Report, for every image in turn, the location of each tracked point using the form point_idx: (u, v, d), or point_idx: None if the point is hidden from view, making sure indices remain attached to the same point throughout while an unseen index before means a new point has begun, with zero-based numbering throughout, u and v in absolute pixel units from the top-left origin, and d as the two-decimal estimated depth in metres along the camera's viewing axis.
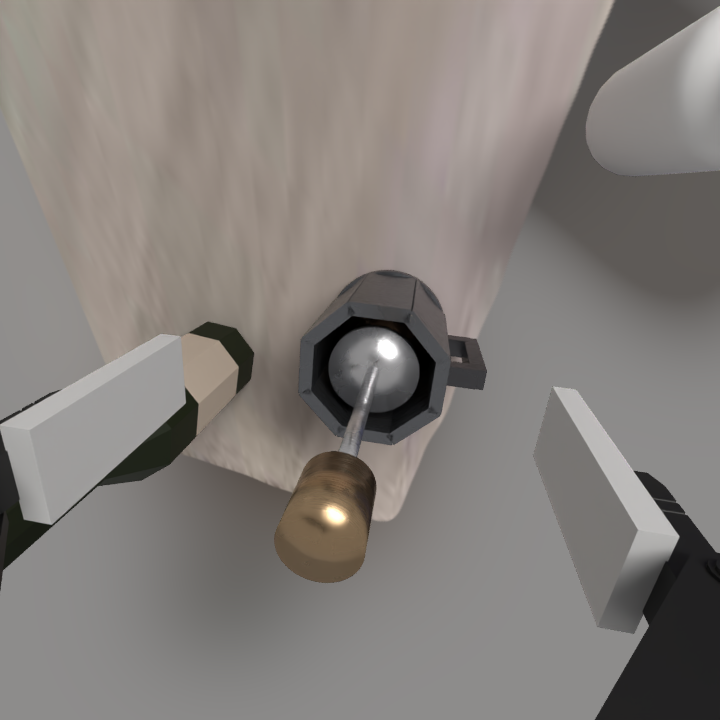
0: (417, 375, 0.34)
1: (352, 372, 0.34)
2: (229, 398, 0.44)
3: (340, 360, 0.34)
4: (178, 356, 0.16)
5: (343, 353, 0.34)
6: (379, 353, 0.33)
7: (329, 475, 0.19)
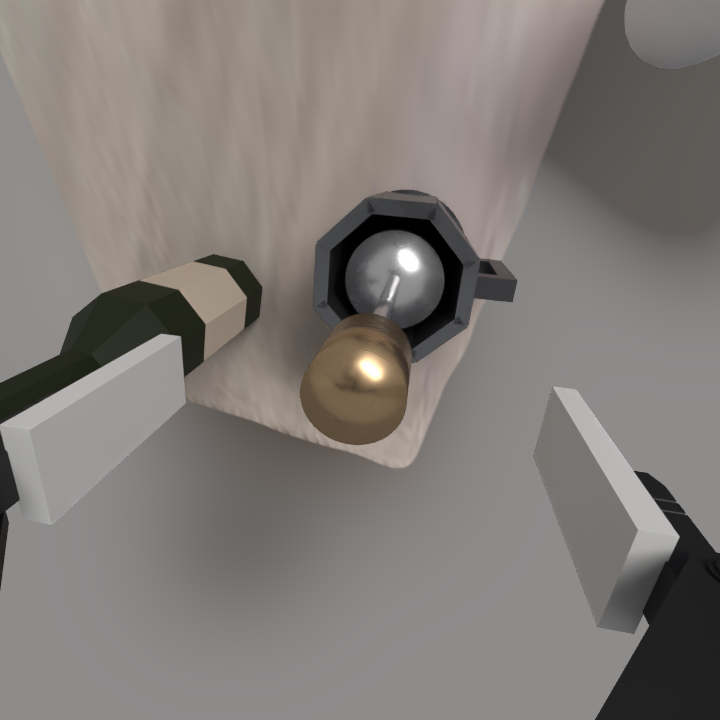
0: (442, 284, 0.31)
1: (371, 283, 0.32)
2: (237, 330, 0.41)
3: (359, 269, 0.31)
4: (178, 356, 0.16)
5: (361, 261, 0.31)
6: (401, 260, 0.31)
7: (361, 327, 0.16)
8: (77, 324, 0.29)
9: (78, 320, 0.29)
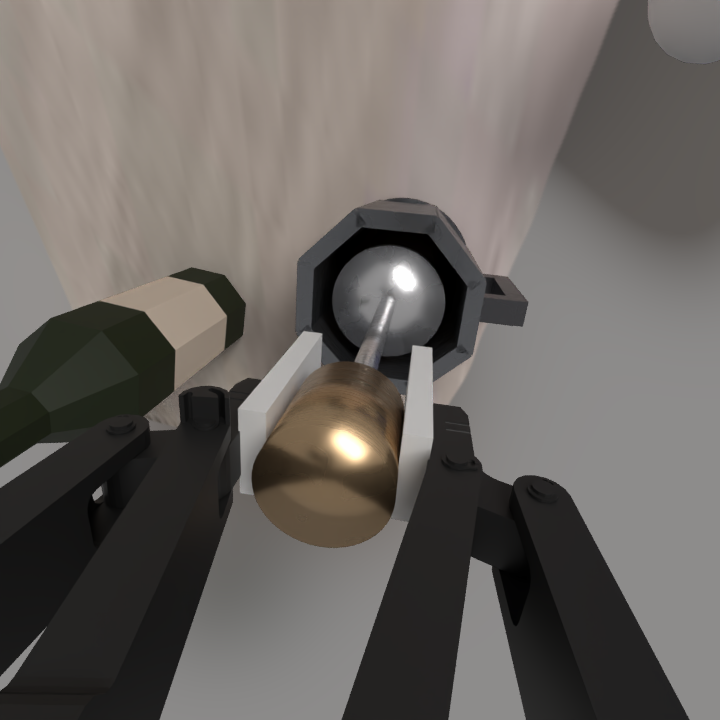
0: (442, 306, 0.27)
1: (361, 305, 0.28)
2: (216, 352, 0.37)
3: (347, 289, 0.27)
4: (319, 352, 0.17)
5: (350, 281, 0.27)
6: (395, 279, 0.27)
7: (336, 386, 0.12)
8: (20, 354, 0.25)
9: (23, 349, 0.25)
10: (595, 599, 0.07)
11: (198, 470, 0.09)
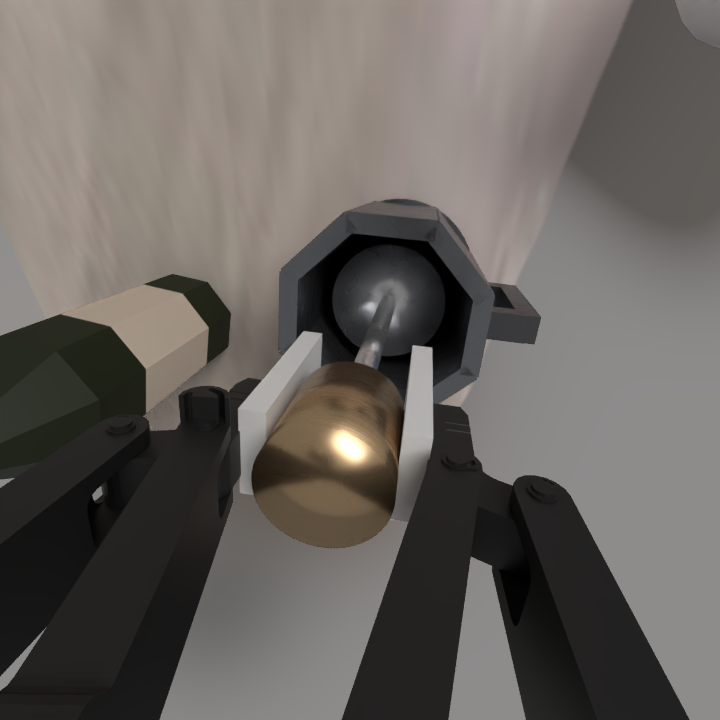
0: (442, 306, 0.27)
1: (362, 305, 0.28)
2: (197, 367, 0.34)
3: (347, 289, 0.27)
4: (320, 352, 0.17)
5: (350, 280, 0.27)
6: (395, 279, 0.27)
7: (336, 386, 0.12)
8: None
9: None
10: (595, 599, 0.07)
11: (198, 470, 0.09)
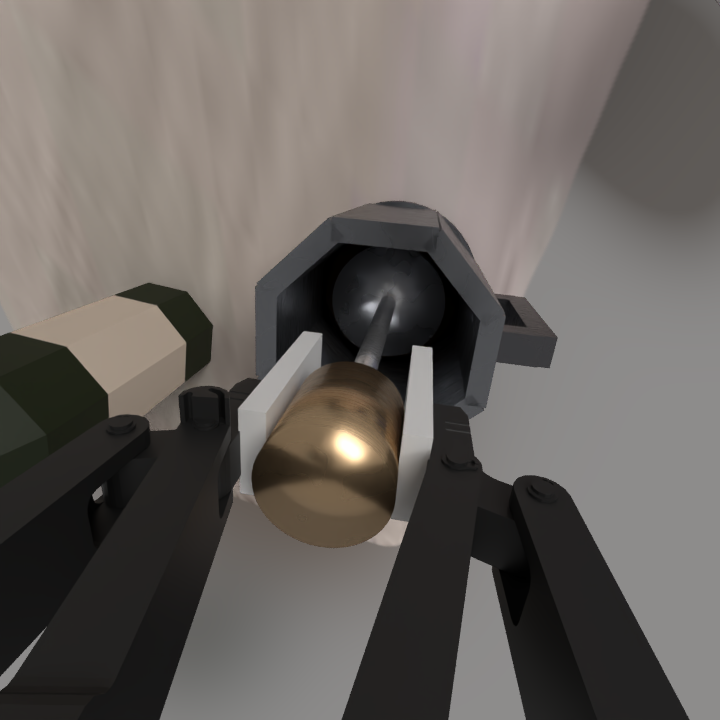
0: (442, 306, 0.27)
1: (361, 305, 0.28)
2: (173, 386, 0.31)
3: (347, 289, 0.27)
4: (320, 351, 0.17)
5: (350, 280, 0.27)
6: (395, 279, 0.27)
7: (336, 386, 0.12)
8: None
9: None
10: (595, 600, 0.07)
11: (198, 470, 0.09)
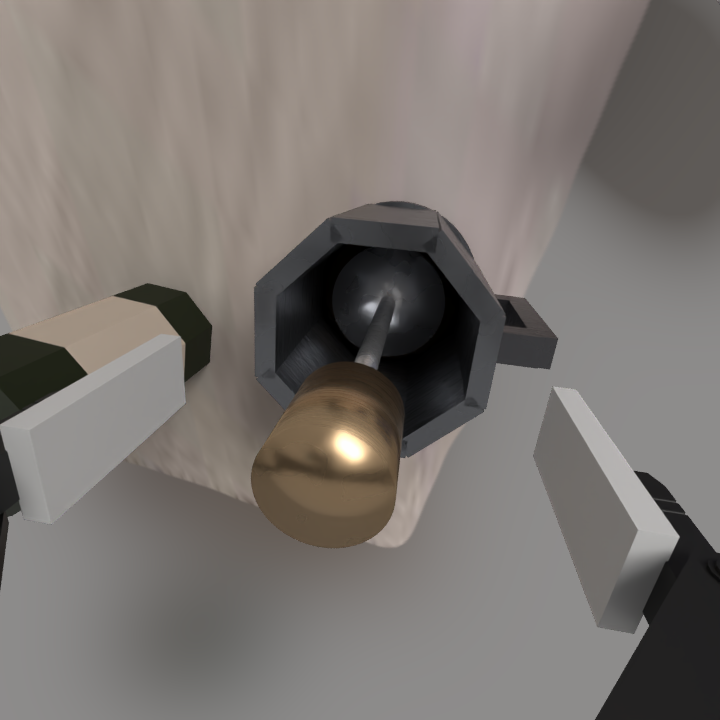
0: (442, 306, 0.27)
1: (361, 305, 0.28)
2: None
3: (347, 289, 0.27)
4: (178, 356, 0.16)
5: (350, 281, 0.27)
6: (395, 279, 0.27)
7: (336, 386, 0.12)
8: None
9: None
10: None
11: None
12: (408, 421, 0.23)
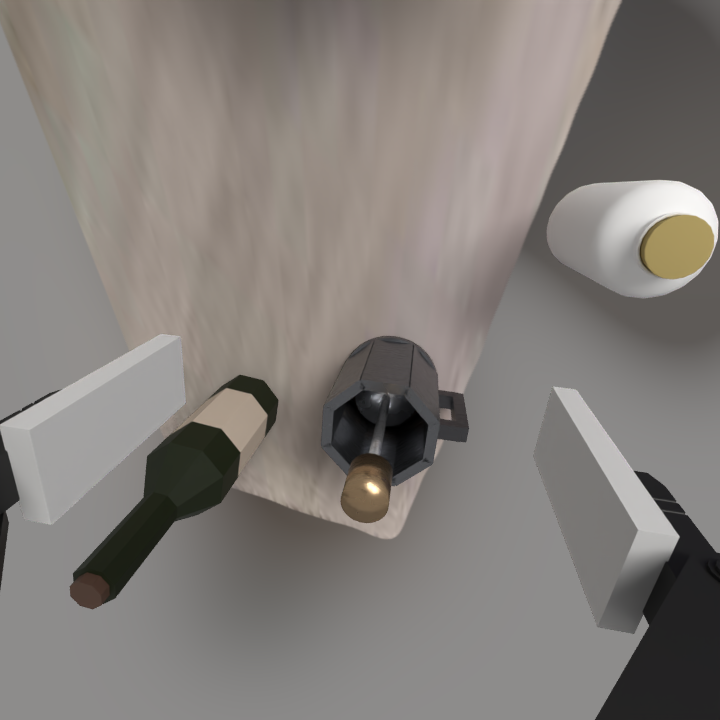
0: None
1: (371, 399, 0.50)
2: (260, 441, 0.53)
3: (364, 390, 0.50)
4: (178, 356, 0.16)
5: None
6: None
7: (367, 466, 0.34)
8: (153, 467, 0.41)
9: (153, 463, 0.41)
10: None
11: None
12: (396, 467, 0.45)
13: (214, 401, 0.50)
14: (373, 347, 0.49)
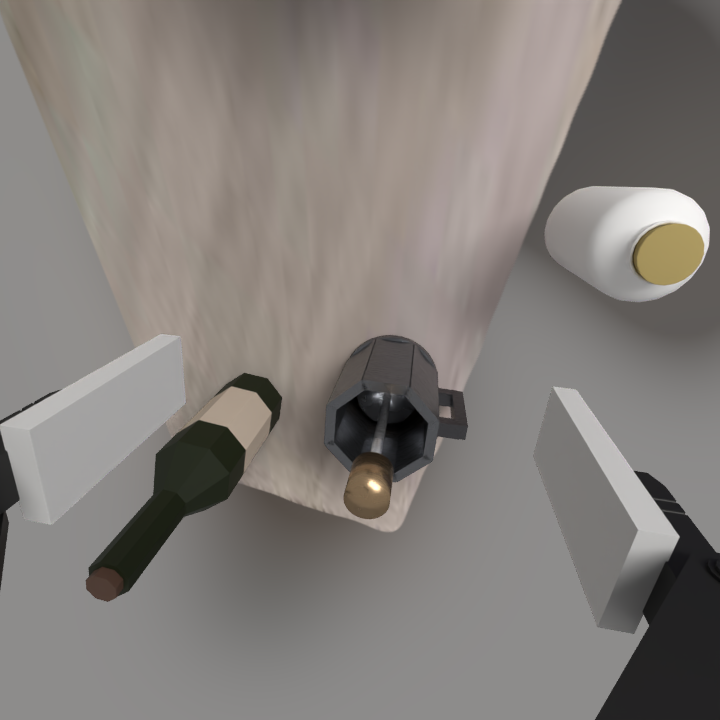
0: None
1: (373, 397, 0.51)
2: (264, 438, 0.55)
3: None
4: (178, 356, 0.16)
5: None
6: None
7: (369, 464, 0.36)
8: (162, 464, 0.42)
9: (162, 460, 0.43)
10: None
11: None
12: (397, 463, 0.46)
13: (220, 399, 0.51)
14: (374, 347, 0.50)
